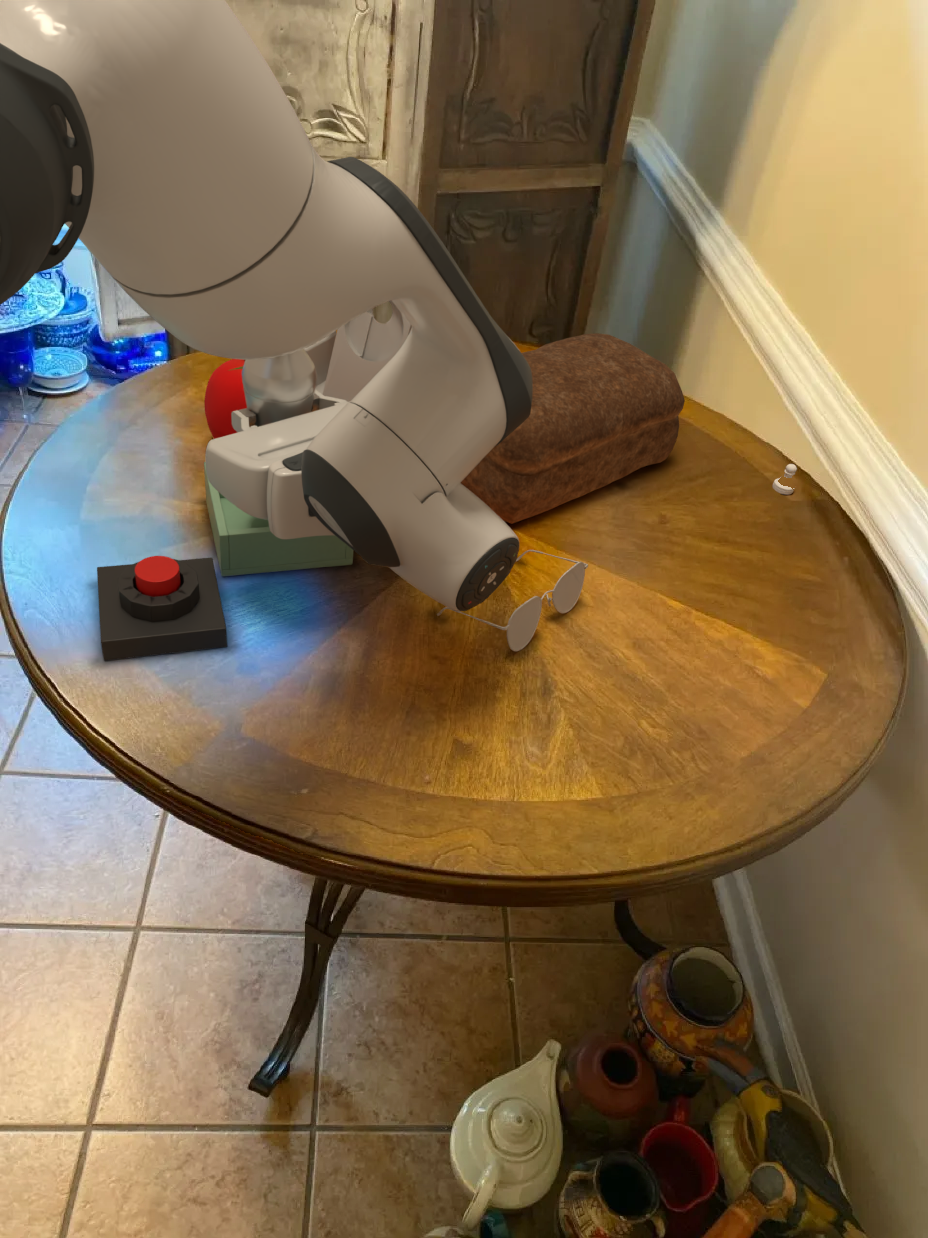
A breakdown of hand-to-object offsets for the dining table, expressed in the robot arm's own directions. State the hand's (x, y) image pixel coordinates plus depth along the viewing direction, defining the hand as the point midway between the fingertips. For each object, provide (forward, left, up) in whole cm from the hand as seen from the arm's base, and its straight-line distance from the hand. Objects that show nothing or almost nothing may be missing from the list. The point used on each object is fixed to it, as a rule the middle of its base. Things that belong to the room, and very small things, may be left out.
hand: (273, 407), depth 84 cm
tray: (0, -1, -14) cm, 14 cm away
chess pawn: (+62, 0, -14) cm, 64 cm away
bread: (+34, +9, -14) cm, 38 cm away
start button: (-12, -12, -10) cm, 19 cm away
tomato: (0, +15, -14) cm, 21 cm away
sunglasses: (+20, -16, -14) cm, 29 cm away
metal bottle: (0, -1, -11) cm, 11 cm away
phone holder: (+13, +26, -14) cm, 33 cm away
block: (-12, -12, -14) cm, 21 cm away
